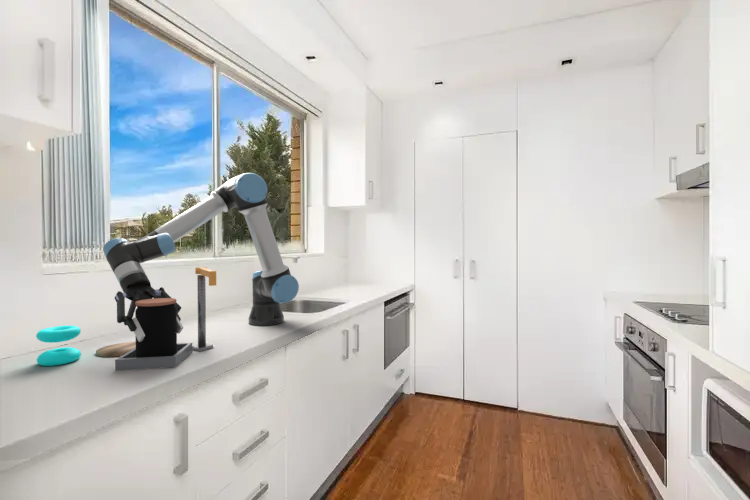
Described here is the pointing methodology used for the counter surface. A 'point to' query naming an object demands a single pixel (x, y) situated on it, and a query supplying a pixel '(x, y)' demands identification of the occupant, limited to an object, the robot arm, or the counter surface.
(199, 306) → the post
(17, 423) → the counter surface
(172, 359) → the grey square tray
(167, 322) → the coffee jar
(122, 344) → the coaster
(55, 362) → the donuts
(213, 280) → the clip arm
